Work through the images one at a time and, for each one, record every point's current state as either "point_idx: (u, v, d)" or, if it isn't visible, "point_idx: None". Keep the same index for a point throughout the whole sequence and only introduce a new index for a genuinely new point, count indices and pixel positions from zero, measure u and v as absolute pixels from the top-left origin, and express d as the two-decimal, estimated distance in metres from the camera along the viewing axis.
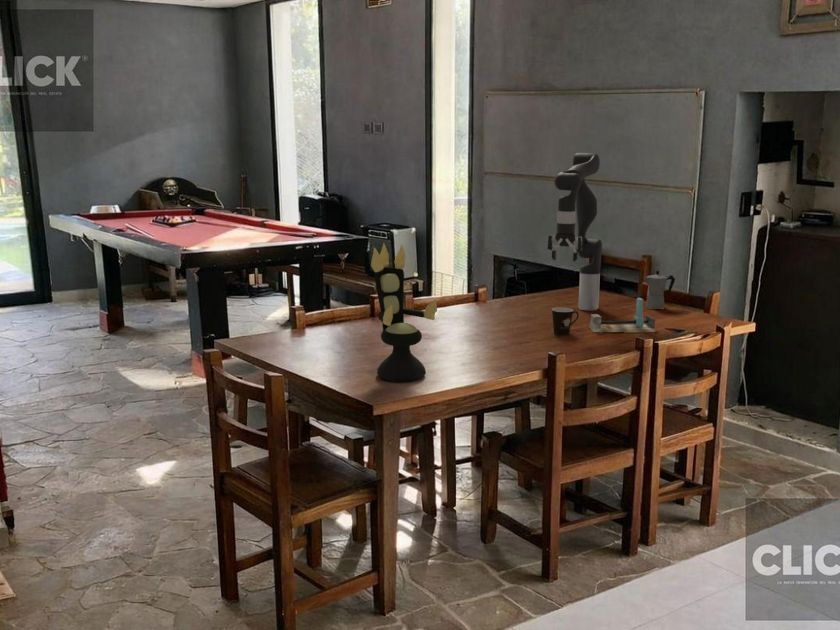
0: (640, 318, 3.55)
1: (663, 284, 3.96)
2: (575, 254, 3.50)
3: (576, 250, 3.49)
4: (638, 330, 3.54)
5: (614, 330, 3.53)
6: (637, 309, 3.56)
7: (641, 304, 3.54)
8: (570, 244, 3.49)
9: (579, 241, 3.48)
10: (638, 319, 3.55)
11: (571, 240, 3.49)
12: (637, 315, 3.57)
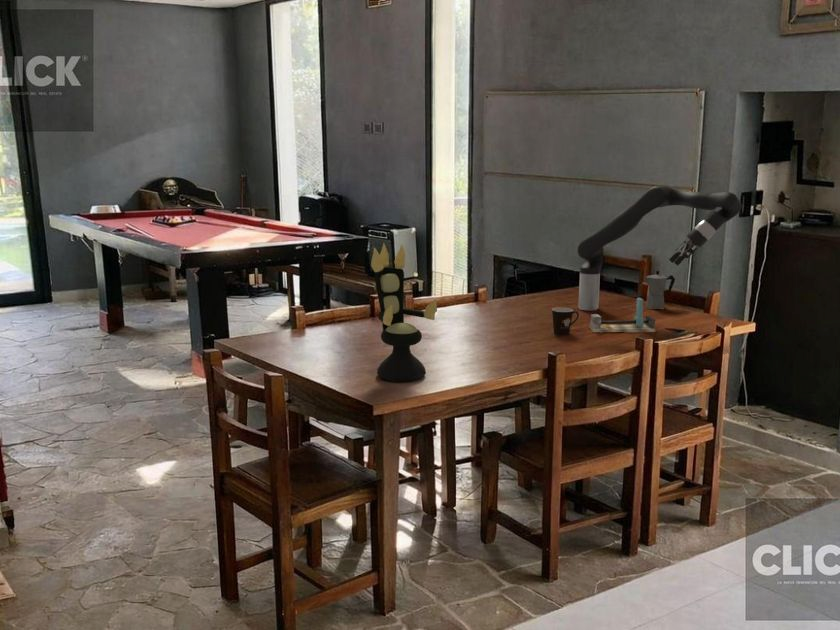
0: (640, 318, 3.55)
1: (663, 284, 3.96)
2: None
3: None
4: (638, 330, 3.54)
5: (614, 330, 3.53)
6: (637, 309, 3.56)
7: (641, 304, 3.54)
8: None
9: None
10: (638, 319, 3.55)
11: None
12: (637, 315, 3.57)
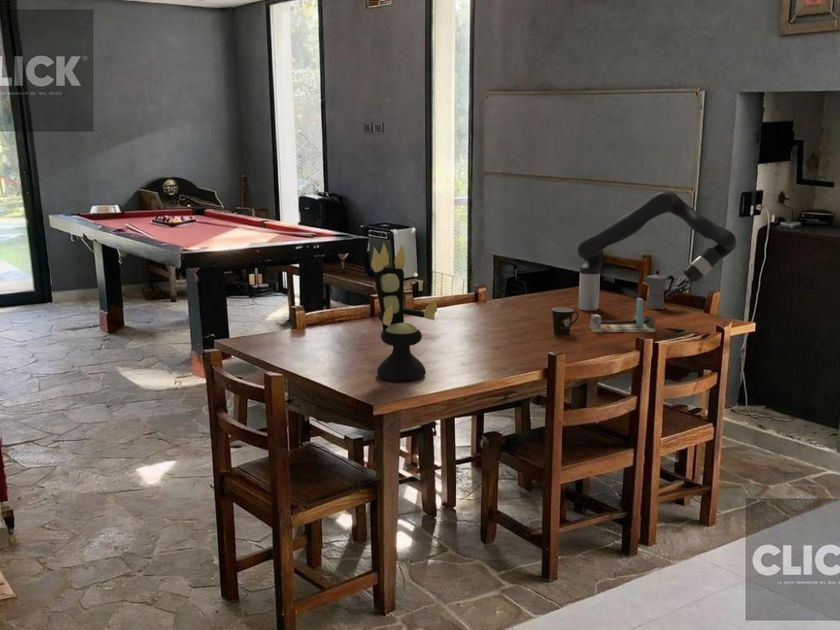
0: (640, 318, 3.55)
1: (663, 284, 3.96)
2: None
3: None
4: (638, 330, 3.54)
5: (614, 330, 3.53)
6: (637, 309, 3.56)
7: (641, 304, 3.54)
8: None
9: None
10: (638, 319, 3.55)
11: None
12: (637, 315, 3.57)
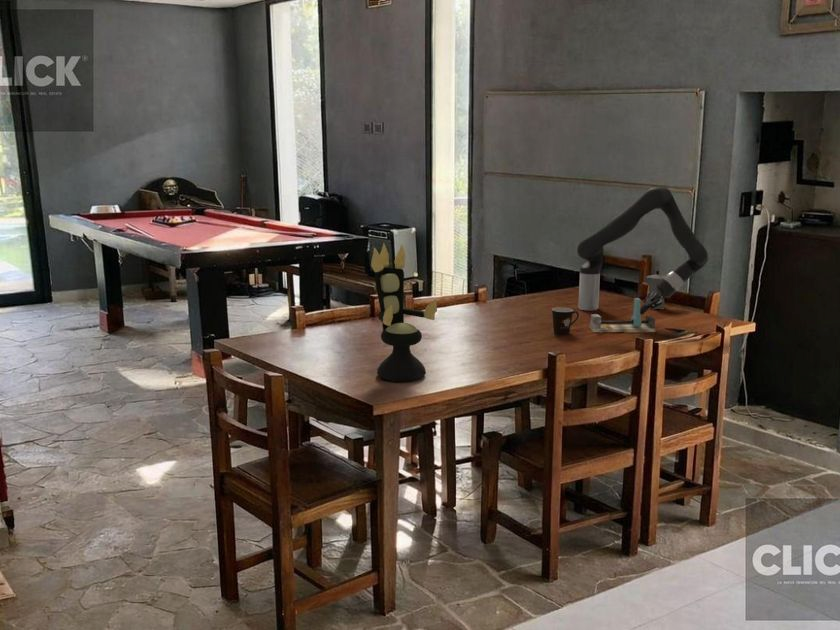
0: (638, 318, 3.55)
1: None
2: None
3: None
4: (638, 330, 3.54)
5: (614, 330, 3.53)
6: (635, 309, 3.56)
7: (639, 304, 3.54)
8: None
9: None
10: (636, 319, 3.55)
11: None
12: (634, 315, 3.57)
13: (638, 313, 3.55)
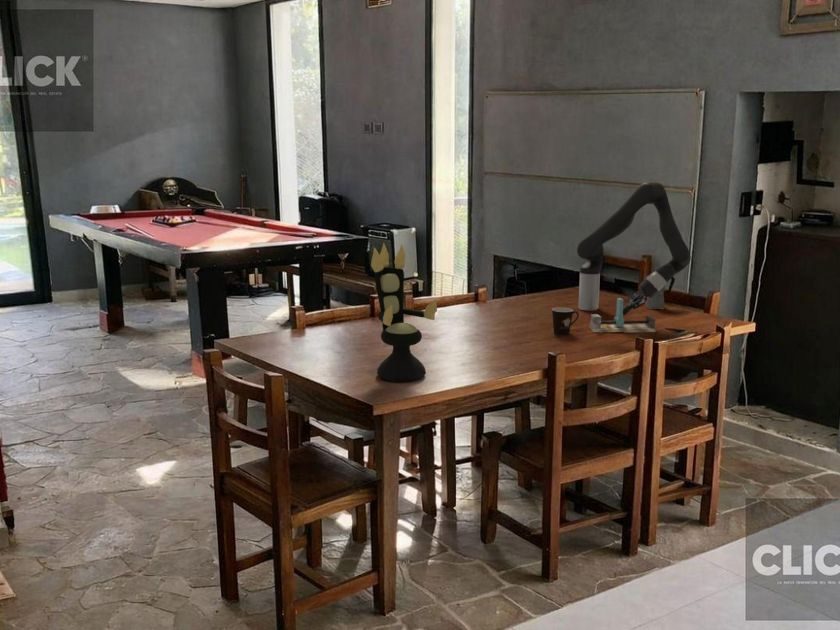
0: (620, 318, 3.54)
1: None
2: None
3: None
4: (638, 330, 3.54)
5: (614, 330, 3.53)
6: (617, 309, 3.56)
7: (621, 304, 3.53)
8: None
9: None
10: (618, 319, 3.54)
11: None
12: (617, 315, 3.56)
13: (621, 313, 3.54)
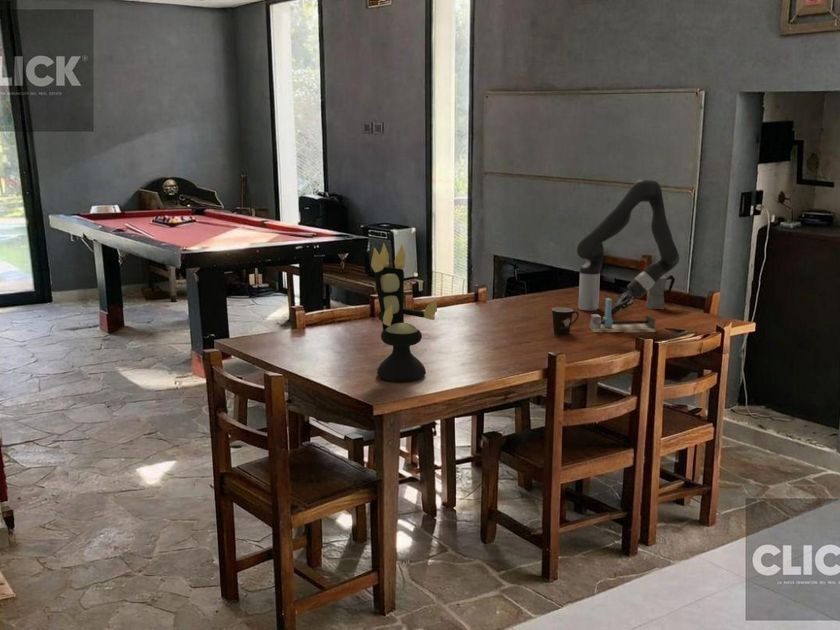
0: (609, 318, 3.54)
1: (663, 284, 3.96)
2: None
3: None
4: (638, 330, 3.54)
5: (614, 330, 3.53)
6: (606, 309, 3.55)
7: (610, 304, 3.53)
8: None
9: None
10: (607, 319, 3.54)
11: None
12: (605, 315, 3.56)
13: (609, 313, 3.54)
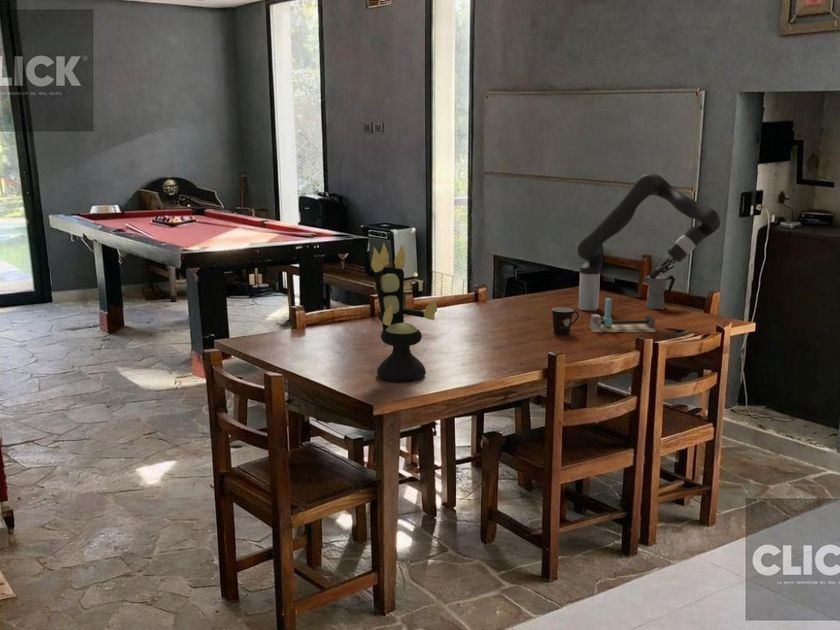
0: (608, 318, 3.54)
1: (663, 284, 3.96)
2: None
3: None
4: (638, 330, 3.54)
5: (614, 330, 3.53)
6: (605, 309, 3.55)
7: (609, 304, 3.53)
8: None
9: None
10: (606, 319, 3.54)
11: None
12: (605, 315, 3.56)
13: (609, 313, 3.54)
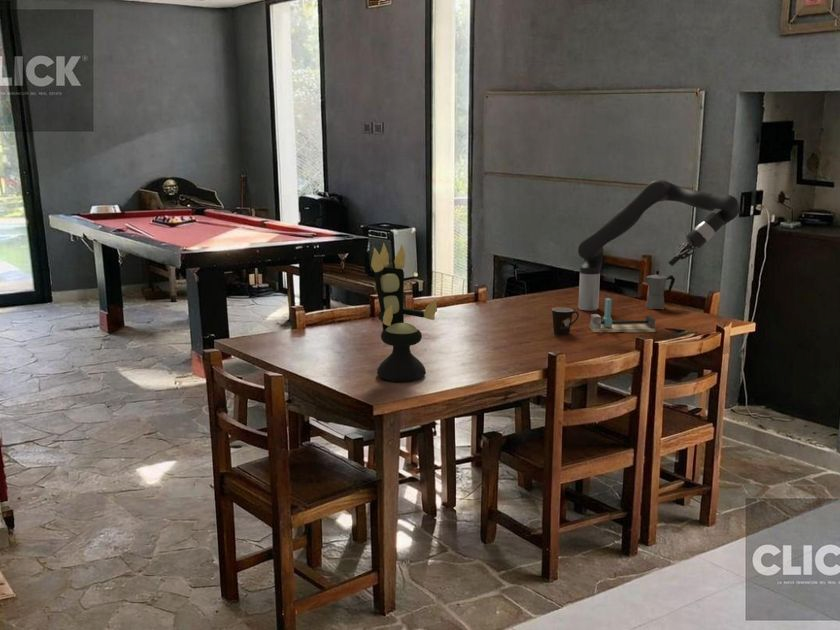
0: (608, 318, 3.54)
1: (663, 284, 3.96)
2: None
3: None
4: (638, 330, 3.54)
5: (614, 330, 3.53)
6: (605, 309, 3.55)
7: (609, 304, 3.53)
8: None
9: None
10: (606, 319, 3.54)
11: None
12: (605, 315, 3.56)
13: (609, 313, 3.54)
